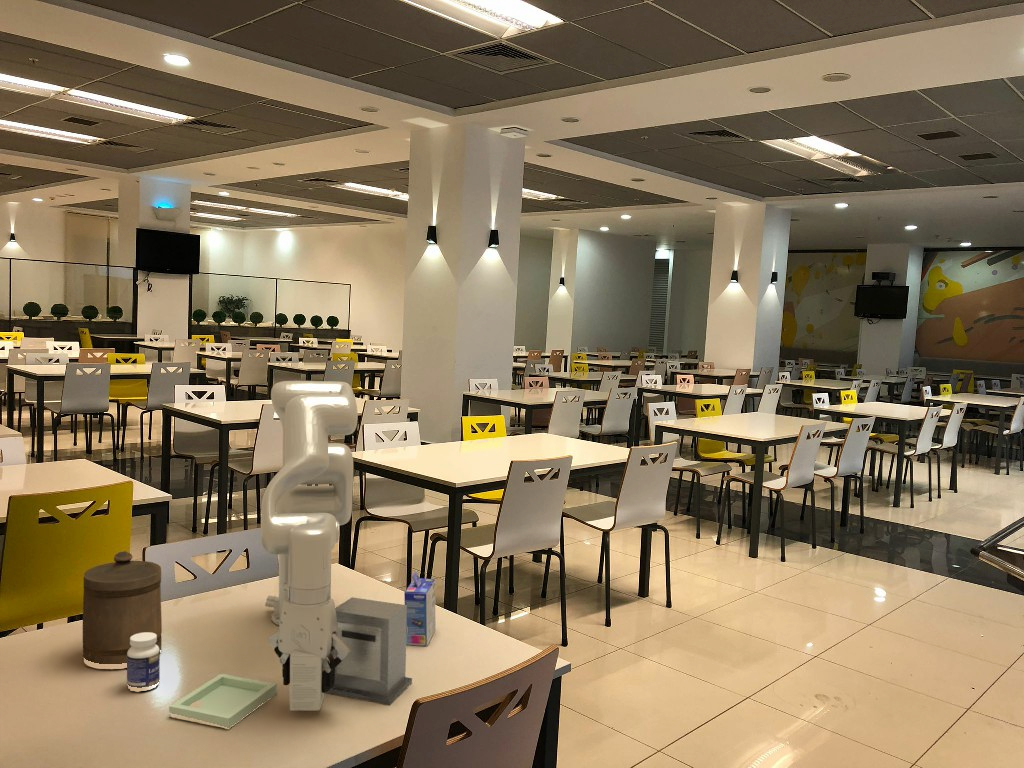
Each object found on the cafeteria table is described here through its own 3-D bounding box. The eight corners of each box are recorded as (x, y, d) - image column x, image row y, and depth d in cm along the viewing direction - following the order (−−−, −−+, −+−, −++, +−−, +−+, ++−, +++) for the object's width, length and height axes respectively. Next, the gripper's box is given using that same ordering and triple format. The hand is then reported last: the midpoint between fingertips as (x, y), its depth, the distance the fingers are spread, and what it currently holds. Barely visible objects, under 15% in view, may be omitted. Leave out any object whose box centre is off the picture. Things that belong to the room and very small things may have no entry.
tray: (169, 717, 146) (169, 706, 146) (220, 684, 160) (220, 673, 160) (229, 730, 143) (229, 718, 143) (276, 694, 156) (276, 683, 156)
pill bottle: (155, 692, 156) (155, 641, 155) (123, 694, 155) (122, 642, 154) (163, 679, 161) (162, 630, 160) (132, 680, 160) (131, 631, 160)
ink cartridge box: (412, 628, 192) (413, 567, 190) (435, 630, 191) (437, 569, 190) (402, 645, 182) (404, 580, 181) (427, 646, 181) (428, 582, 180)
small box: (296, 690, 155) (297, 636, 154) (326, 689, 156) (327, 636, 155) (288, 711, 147) (289, 654, 146) (320, 711, 148) (321, 655, 147)
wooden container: (167, 640, 180) (167, 541, 179) (153, 668, 166) (153, 561, 164) (94, 644, 177) (93, 543, 175) (73, 673, 163) (71, 564, 161)
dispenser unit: (323, 692, 158) (324, 611, 156) (348, 672, 167) (349, 595, 166) (389, 705, 154) (391, 621, 152) (411, 683, 163) (413, 604, 162)
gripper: (255, 592, 148) (255, 686, 150) (342, 606, 143) (340, 704, 145) (279, 579, 155) (278, 669, 157) (362, 592, 150) (360, 685, 152)
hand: (308, 685), depth 151 cm, fingers closed on small box, 7 cm apart
